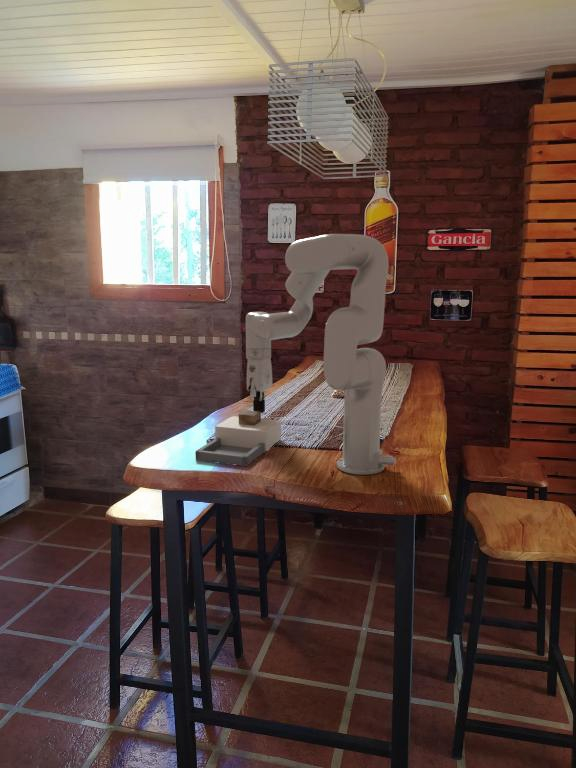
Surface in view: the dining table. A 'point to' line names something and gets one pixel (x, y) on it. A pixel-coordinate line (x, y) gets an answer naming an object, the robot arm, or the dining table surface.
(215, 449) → the box
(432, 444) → the dining table surface
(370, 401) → the robot arm
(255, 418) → the walnut tile
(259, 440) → the raised plate
